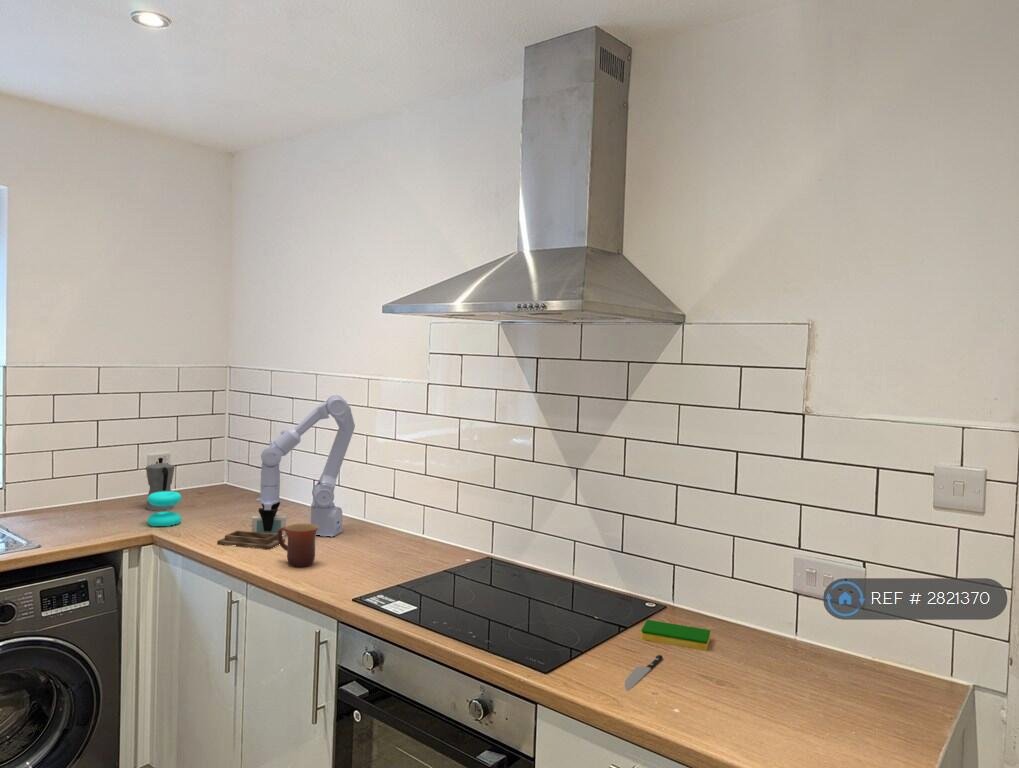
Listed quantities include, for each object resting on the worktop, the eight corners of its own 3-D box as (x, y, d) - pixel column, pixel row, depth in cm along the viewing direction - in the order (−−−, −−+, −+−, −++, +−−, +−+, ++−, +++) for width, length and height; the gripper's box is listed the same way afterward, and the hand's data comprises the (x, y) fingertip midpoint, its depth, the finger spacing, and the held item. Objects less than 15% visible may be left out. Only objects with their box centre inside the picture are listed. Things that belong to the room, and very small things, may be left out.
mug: (323, 562, 207) (324, 525, 207) (304, 570, 199) (305, 532, 199) (287, 556, 211) (288, 520, 211) (267, 564, 203) (268, 527, 203)
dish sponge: (646, 629, 167) (647, 618, 167) (709, 640, 163) (710, 629, 162) (640, 641, 161) (641, 630, 161) (706, 652, 156) (707, 641, 156)
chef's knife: (610, 692, 136) (625, 695, 135) (610, 686, 136) (625, 689, 135) (649, 656, 153) (663, 659, 151) (649, 651, 153) (663, 654, 151)
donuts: (163, 489, 248) (188, 492, 245) (163, 519, 248) (187, 522, 245) (140, 494, 239) (165, 497, 235) (139, 525, 239) (165, 529, 236)
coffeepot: (141, 506, 266) (142, 455, 265) (169, 503, 272) (170, 454, 271) (150, 514, 254) (151, 462, 253) (180, 511, 260) (181, 460, 259)
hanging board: (285, 542, 226) (285, 533, 226) (269, 549, 217) (269, 541, 217) (234, 537, 230) (234, 528, 230) (217, 544, 221) (217, 535, 221)
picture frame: (285, 534, 236) (286, 515, 236) (285, 536, 233) (285, 517, 233) (252, 534, 234) (253, 515, 233) (251, 537, 231) (252, 518, 230)
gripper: (259, 480, 239) (258, 522, 239) (254, 489, 225) (252, 534, 225) (282, 480, 240) (280, 522, 241) (278, 489, 226) (277, 533, 227)
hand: (269, 528), depth 233 cm, fingers open, 7 cm apart
